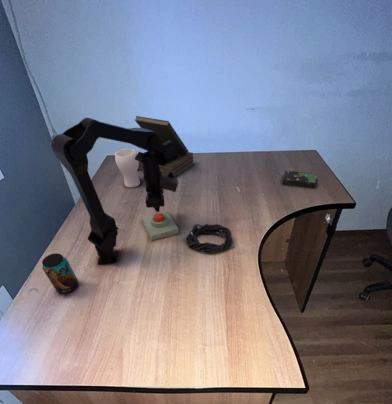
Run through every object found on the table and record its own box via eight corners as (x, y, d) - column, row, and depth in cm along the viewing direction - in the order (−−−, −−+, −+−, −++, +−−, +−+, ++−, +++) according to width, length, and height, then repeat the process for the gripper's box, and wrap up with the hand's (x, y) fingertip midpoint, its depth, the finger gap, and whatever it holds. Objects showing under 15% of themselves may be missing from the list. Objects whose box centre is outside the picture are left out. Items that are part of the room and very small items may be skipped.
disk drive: (282, 185, 127) (314, 188, 124) (283, 179, 125) (316, 182, 122) (283, 175, 134) (314, 178, 130) (285, 170, 132) (316, 172, 128)
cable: (238, 238, 100) (239, 229, 97) (222, 260, 92) (223, 251, 88) (198, 226, 106) (197, 217, 103) (180, 246, 98) (179, 237, 94)
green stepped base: (178, 233, 103) (178, 224, 100) (151, 240, 101) (150, 231, 98) (168, 215, 112) (167, 206, 109) (142, 221, 110) (141, 213, 107)
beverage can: (56, 298, 82) (38, 270, 73) (57, 282, 87) (40, 254, 78) (79, 292, 83) (64, 264, 75) (79, 277, 88) (65, 249, 79)
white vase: (138, 189, 128) (132, 157, 117) (118, 188, 130) (110, 156, 119) (145, 179, 135) (140, 148, 124) (126, 178, 137) (119, 147, 126)
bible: (193, 164, 146) (191, 112, 128) (173, 178, 135) (167, 123, 117) (160, 156, 155) (154, 106, 137) (138, 169, 144) (128, 117, 126)
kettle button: (165, 221, 103) (164, 217, 102) (155, 223, 102) (154, 219, 101) (162, 215, 106) (161, 211, 104) (152, 218, 105) (152, 214, 103)
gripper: (177, 181, 84) (180, 223, 95) (173, 157, 97) (177, 197, 108) (141, 184, 83) (149, 226, 95) (143, 160, 96) (149, 199, 107)
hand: (158, 211), depth 101 cm, fingers closed
